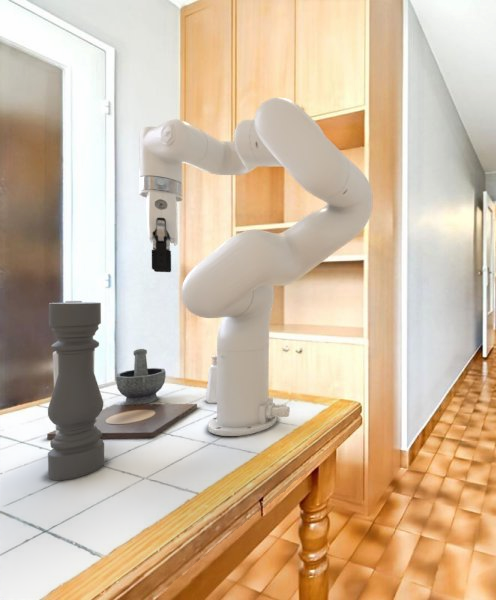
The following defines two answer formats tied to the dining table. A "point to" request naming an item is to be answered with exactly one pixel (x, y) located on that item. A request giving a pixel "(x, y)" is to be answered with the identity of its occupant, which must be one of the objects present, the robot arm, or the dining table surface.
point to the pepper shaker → (212, 382)
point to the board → (137, 419)
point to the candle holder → (75, 392)
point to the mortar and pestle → (140, 381)
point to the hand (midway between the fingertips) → (162, 271)
